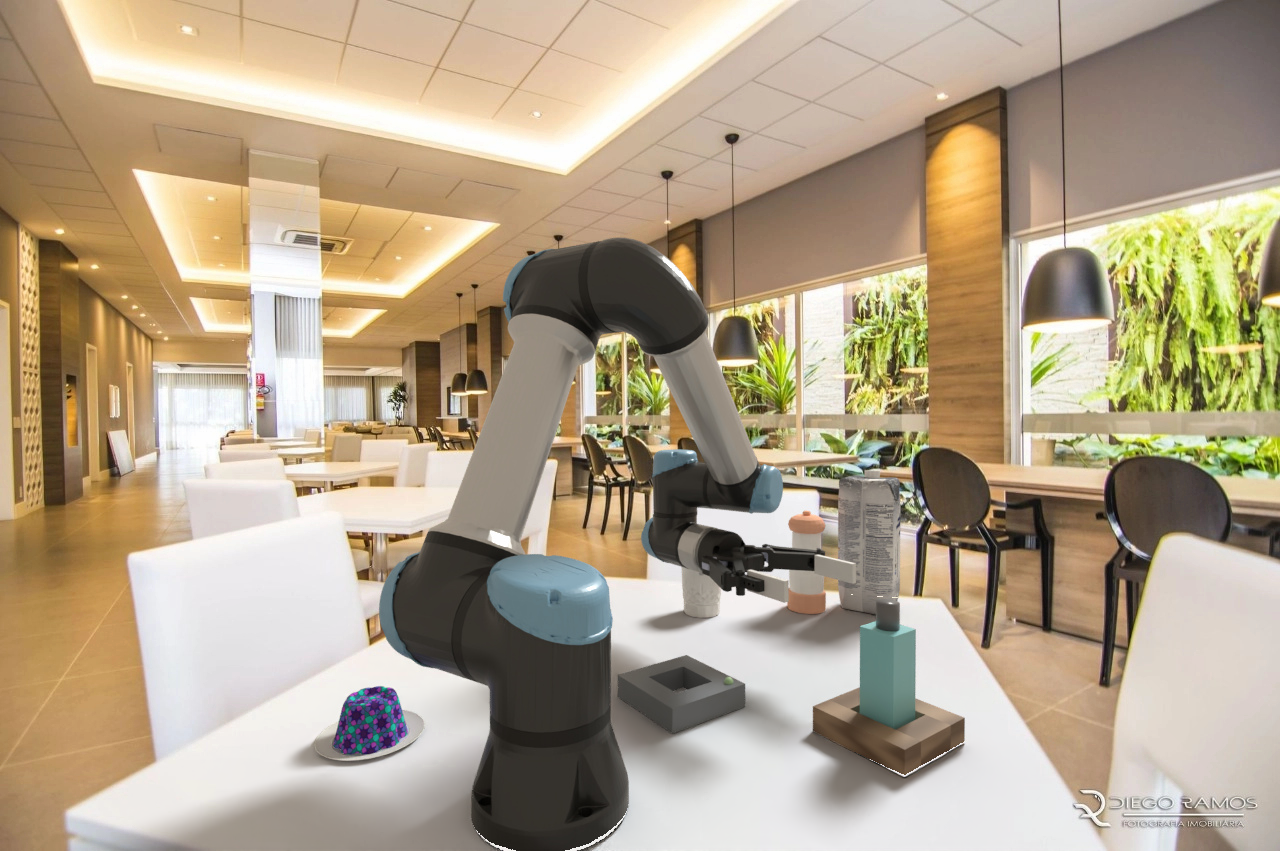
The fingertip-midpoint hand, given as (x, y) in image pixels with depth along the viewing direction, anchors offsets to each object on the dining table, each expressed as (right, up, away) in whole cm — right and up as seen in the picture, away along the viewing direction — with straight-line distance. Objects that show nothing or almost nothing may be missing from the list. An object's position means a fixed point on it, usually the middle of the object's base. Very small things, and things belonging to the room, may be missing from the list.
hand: (822, 582), depth 82 cm
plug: (+5, -16, -8) cm, 19 cm away
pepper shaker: (+9, -16, +41) cm, 45 cm away
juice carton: (+21, -16, +41) cm, 48 cm away
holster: (+5, -16, -8) cm, 19 cm away
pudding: (-56, -17, -8) cm, 59 cm away
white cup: (-12, -16, +38) cm, 43 cm away
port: (-18, -16, +1) cm, 25 cm away
